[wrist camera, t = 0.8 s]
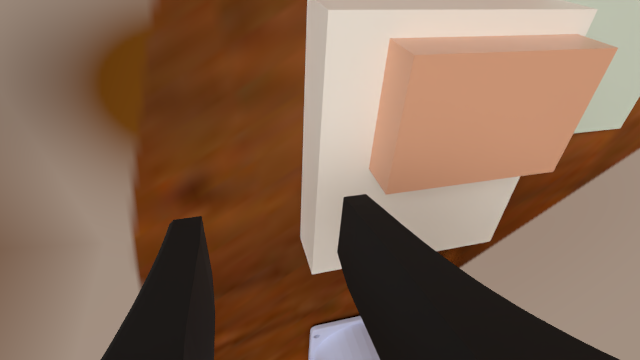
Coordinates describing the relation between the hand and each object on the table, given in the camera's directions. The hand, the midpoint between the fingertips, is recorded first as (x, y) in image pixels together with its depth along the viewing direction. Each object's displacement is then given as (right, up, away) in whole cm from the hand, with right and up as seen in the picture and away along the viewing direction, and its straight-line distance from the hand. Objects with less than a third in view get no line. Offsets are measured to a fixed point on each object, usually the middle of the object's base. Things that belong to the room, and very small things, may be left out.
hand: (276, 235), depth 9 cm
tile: (+8, +5, +7) cm, 12 cm away
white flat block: (+6, +4, +11) cm, 13 cm away
